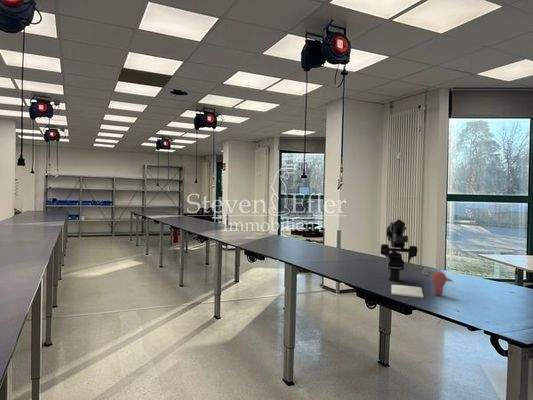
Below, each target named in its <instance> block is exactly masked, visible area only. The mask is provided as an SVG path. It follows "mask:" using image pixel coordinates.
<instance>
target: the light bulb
mask: <svg viewBox="0 0 533 400" xmlns="http://www.w3.org/2000/svg"><path fill="white" fill-rule="evenodd" d="M446 277H447V275H446V274H445V273H444V272H442V271H434V273H433V274H432V275H431V278H430V279H431V282H432V285H433V289H434V295H436V296H442V295H443V290H444V286H445V285H446V283H447V278H448V277H447V278H446Z"/></svg>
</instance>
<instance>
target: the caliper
mask: <svg viewBox="0 0 533 400" xmlns="http://www.w3.org/2000/svg"><path fill="white" fill-rule="evenodd" d="M422 270H423V271H422V274H423V276H426V275H427V276H428V275H429V274H430V275H431V276H432V274H433V273H434V272H435V270H433V269H431V268H429V266H427V265H425V266H424V267H423V268H422ZM446 278H447V280H448V281H447V280H446V281H447V282H450V281H452V283H454V280H452V278H449V277H447V276H446Z"/></svg>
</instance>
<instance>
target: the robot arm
mask: <svg viewBox="0 0 533 400" xmlns="http://www.w3.org/2000/svg"><path fill="white" fill-rule="evenodd" d="M406 230H407V227H406V223H405V222H404V221H402V219H396V220H395V221H394V222H393V221H391V222H390V223H389V226H387V227H386V233H385V235H386V237H387V240H388V242H390V246H389V244H386V243H385V244H384V243H382V244H381V245H380V255H383V256H385V258H387V265H386V268H387V270H389V276H388V280H389V281H394V282H395V281H396V282H397V281H398V282H400V281H401V278H400V277H401V276H400V275H401V271H404V270H405V269H404V267H405V262H404V259H403V256H402V253H404V254H405V253H406V254H408V255H407V256H408V257H407V264H410V261H411V259H413V258H415V257H417V256H418V255H417V254H418V250H419V249H418V246H417V245H409V246H408V248H405V246H406V245H405V243H408V242H409V236H408V235H404V233H405V231H406Z"/></svg>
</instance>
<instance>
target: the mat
mask: <svg viewBox="0 0 533 400" xmlns="http://www.w3.org/2000/svg"><path fill="white" fill-rule="evenodd" d="M390 294H391V295H393V296H401V297H402V296H403V297H409V298H410V297H411V298H421V299H424V293H423V289H422V287H419V286H410V285H401V284H391V293H390Z"/></svg>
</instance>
